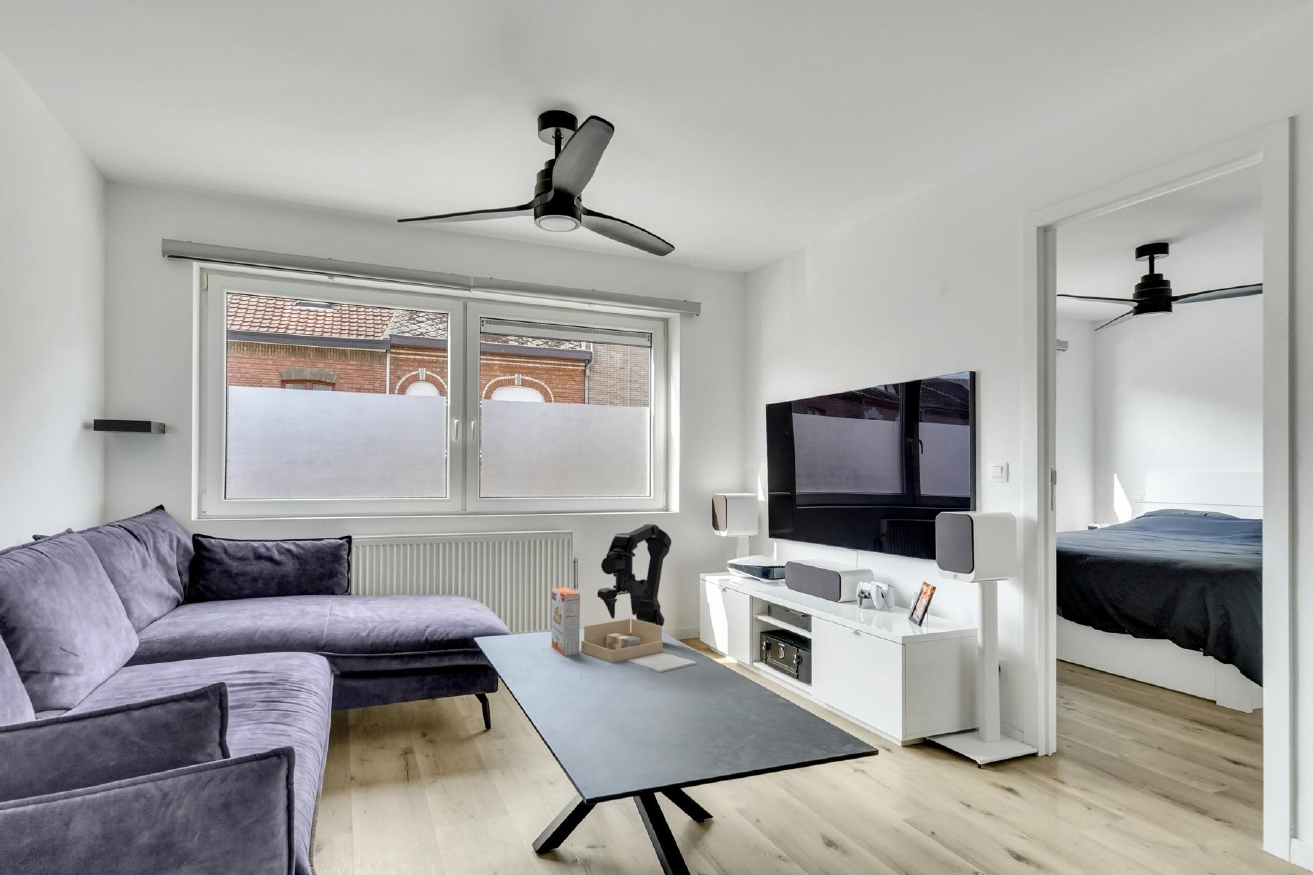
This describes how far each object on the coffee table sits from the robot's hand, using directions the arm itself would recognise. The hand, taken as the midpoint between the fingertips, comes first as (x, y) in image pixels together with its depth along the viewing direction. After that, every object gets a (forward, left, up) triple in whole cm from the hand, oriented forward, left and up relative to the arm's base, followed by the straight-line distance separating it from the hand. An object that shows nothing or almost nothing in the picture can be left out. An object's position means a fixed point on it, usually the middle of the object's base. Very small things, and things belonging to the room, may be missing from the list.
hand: (623, 616), depth 258 cm
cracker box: (+14, -15, -13) cm, 24 cm away
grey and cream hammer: (0, -1, -12) cm, 12 cm away
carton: (0, -1, -12) cm, 12 cm away
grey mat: (-2, +17, -12) cm, 21 cm away
